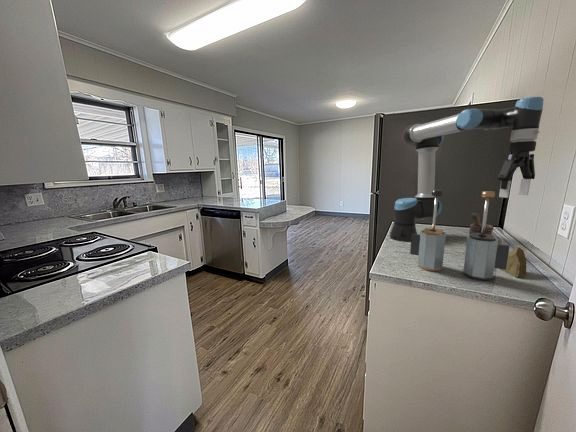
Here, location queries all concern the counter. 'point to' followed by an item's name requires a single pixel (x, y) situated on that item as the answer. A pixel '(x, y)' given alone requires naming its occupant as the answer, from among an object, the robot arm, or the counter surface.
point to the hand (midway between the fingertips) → (513, 196)
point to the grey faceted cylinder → (429, 249)
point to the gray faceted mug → (484, 256)
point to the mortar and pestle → (479, 226)
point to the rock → (516, 263)
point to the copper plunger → (435, 206)
